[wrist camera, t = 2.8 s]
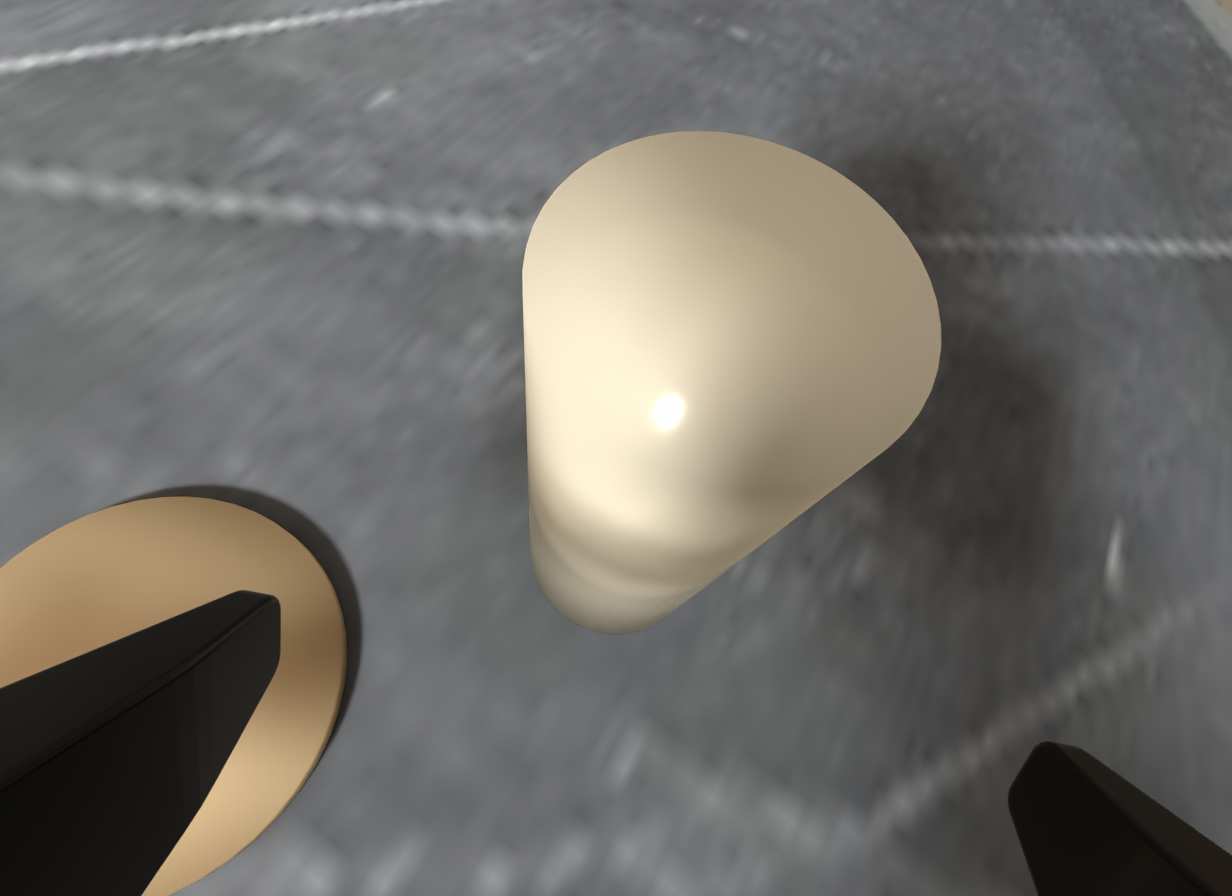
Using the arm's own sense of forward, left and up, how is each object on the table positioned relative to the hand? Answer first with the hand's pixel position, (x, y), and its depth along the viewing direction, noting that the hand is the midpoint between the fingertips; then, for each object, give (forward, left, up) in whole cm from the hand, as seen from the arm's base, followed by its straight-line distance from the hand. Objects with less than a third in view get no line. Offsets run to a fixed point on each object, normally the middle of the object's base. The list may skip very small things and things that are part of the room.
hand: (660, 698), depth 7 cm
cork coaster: (+5, +11, -11) cm, 16 cm away
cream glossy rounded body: (+4, -2, -11) cm, 12 cm away
